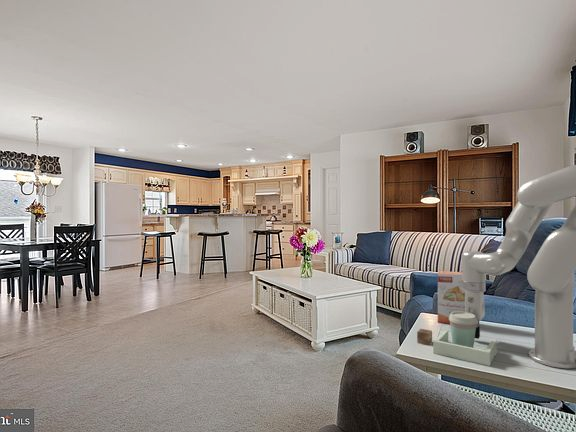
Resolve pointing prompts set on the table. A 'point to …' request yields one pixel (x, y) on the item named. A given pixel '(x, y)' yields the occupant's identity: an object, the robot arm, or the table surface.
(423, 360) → the table surface
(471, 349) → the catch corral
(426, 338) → the walnut block
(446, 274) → the cracker box
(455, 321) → the coffee cup
